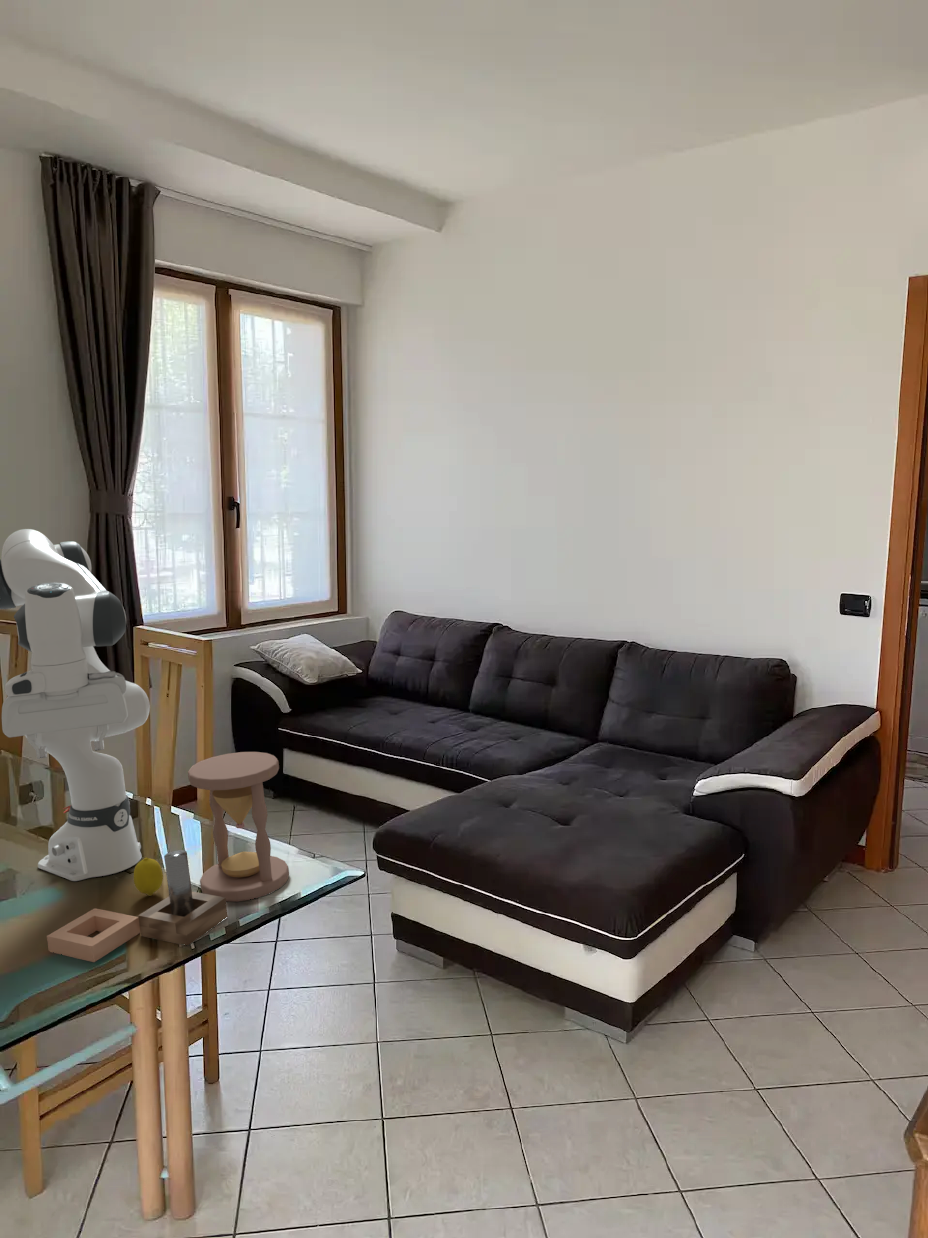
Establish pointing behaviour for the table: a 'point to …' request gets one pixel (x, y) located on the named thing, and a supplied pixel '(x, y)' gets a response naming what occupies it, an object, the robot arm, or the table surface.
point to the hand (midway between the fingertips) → (71, 753)
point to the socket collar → (112, 935)
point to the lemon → (148, 876)
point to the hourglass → (239, 824)
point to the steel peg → (179, 883)
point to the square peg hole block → (183, 919)
